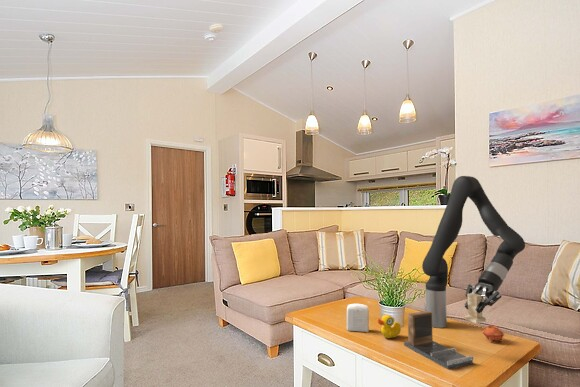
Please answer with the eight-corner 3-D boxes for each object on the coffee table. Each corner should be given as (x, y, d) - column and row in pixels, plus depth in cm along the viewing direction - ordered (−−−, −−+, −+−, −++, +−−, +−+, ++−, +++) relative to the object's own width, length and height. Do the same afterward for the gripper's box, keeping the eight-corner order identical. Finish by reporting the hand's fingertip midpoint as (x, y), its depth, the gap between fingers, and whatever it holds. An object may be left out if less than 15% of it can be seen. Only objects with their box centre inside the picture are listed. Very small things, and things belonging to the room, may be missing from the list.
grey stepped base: (404, 345, 143) (404, 338, 144) (426, 341, 148) (426, 334, 148) (448, 369, 122) (448, 362, 122) (473, 364, 126) (473, 356, 126)
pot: (503, 345, 142) (498, 328, 143) (483, 345, 147) (478, 329, 149) (508, 339, 148) (503, 323, 149) (488, 339, 153) (483, 323, 154)
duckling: (381, 341, 148) (381, 318, 148) (374, 337, 153) (374, 314, 153) (403, 338, 151) (403, 315, 152) (396, 334, 157) (395, 311, 157)
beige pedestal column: (465, 319, 135) (464, 293, 136) (474, 317, 137) (473, 292, 138) (476, 323, 131) (475, 296, 131) (485, 321, 133) (485, 295, 133)
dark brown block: (408, 342, 142) (407, 313, 143) (427, 339, 146) (426, 310, 147) (414, 345, 139) (413, 315, 140) (433, 342, 143) (432, 313, 143)
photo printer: (368, 329, 163) (368, 303, 163) (369, 332, 158) (369, 305, 159) (346, 328, 164) (346, 302, 165) (346, 331, 160) (346, 304, 161)
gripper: (473, 267, 144) (451, 299, 139) (505, 273, 131) (483, 308, 126) (482, 278, 146) (461, 310, 141) (515, 286, 133) (493, 321, 128)
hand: (472, 309), depth 134 cm, fingers closed on beige pedestal column, 4 cm apart
